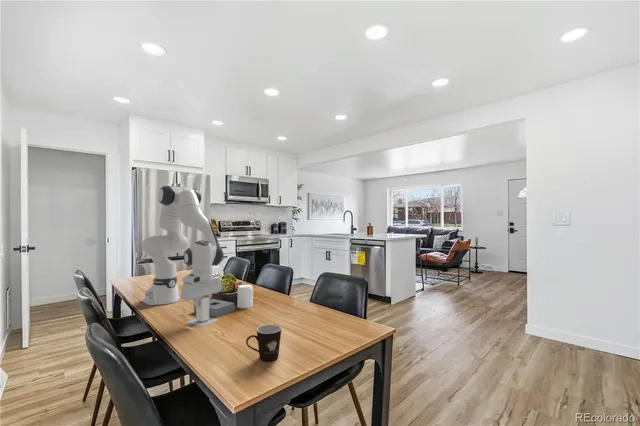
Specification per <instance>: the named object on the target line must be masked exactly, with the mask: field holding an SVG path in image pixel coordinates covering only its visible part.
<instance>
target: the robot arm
mask: <svg viewBox="0 0 640 426" xmlns="http://www.w3.org/2000/svg"><path fill="white" fill-rule="evenodd" d="M157 197H158V201H159V203H160V204H161V205H162V206H161V211H160V216H159V222H158V224H159V227H160V228H161V229H163V230H164V231H166V234H164V235H163V234H162V235H152V236H151V235H150V236H148V237H145V238H144V239H143V240H142V243H141V251H143V253H144V254H146V255H147V256H148V257H150V258H151V260H152V262H153V265H154V278H153V279H152V284H151V286H150V287H149V288H147V289H146V291H145V295H144V297H143V298H141V299H140V302H142V303H144V304H146V305H148V306H157V305H159V306H160V305H168V304H173V303H176V302H178V301H179V300H180V299H182V300H183V301H190V300H191V301H193V304H195V307H200V303H198V301H197V300H198V298H201V297H208V298H209V304H210V300H211V299H212V296H213V294H217V293H220V292H221V291H222V281H221V274H220V273H218V272H215V273H214V272H213V270H214V266H219V264H221V263H222V262H223V260H224V251H223V249H222V246H221V245H220V243H219V240H218V238H217V234H216V233H215V230H214V228H213V225H212V223H211V221H210V219H209V218H207V217H206V215H204V213H203V212H202V208H201V205H200V204H201V203H202V193H201V192H200V190H199V189H196V188H191V187H186V186H170V185H165V186H161V188H159V190H158V193H157ZM181 223H182V224H183V225H184V226H186V227H188V228H192V229H196V230H198V231H199V232H201V233H203V235H204V236H205V239H206V240H197V241H195V242H194V243H193V246H191V247H189V240H188V238H187V236H185V235H184V234H183V232H182V230H181V225H182V224H181ZM181 252H183V263H184V264H185V265H186V266H188V267H191V268H192V271H191V272H190V273H188V274H187V275H185V276H183V277H182V280H181V281H182V285H181V291H180V295H179V286H178V276H177V264H176V262H175V261H173V260H172V259H170V258H169V257H168V254H178V253H181Z"/></svg>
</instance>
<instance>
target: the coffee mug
mask: <svg viewBox="0 0 640 426" xmlns="http://www.w3.org/2000/svg"><path fill="white" fill-rule="evenodd" d="M281 335H282V326H280V325H277V324H264V325H260V326H258V327H257V328H256V335H255V334H251V335H249V336H248V337H247V338H246V340H245V344H246V346H247V347H248V348H250V349H251V350H253V351H255V352H257V353H258V354H259V355H258V356H259V360H260V361H261V362H264V363H273V362H275V361H276V360H278V359H279V353H280V347H281V346H280V344H281V337H282V336H281ZM251 338H255V339H256V341H257V345H258V347H257V348H258V349H257V348H254V347H253V346H250V344H249V343H248V342H249V340H250V339H251Z"/></svg>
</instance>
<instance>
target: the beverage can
mask: <svg viewBox="0 0 640 426" xmlns="http://www.w3.org/2000/svg"><path fill="white" fill-rule="evenodd" d="M253 305H254V287H253V285H252V284H239V285H238V287H237V308H239V309H250V308H252V307H253Z"/></svg>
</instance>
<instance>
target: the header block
mask: <svg viewBox="0 0 640 426" xmlns="http://www.w3.org/2000/svg"><path fill="white" fill-rule="evenodd" d="M193 312H194V313H195V314H196V307H195V303H193ZM232 312H235V302H231V301H226V300H221V299H216V298H215V299H214V298H211V299H210V304H209V317H211V318H219V317H222V316H224V315H227V314H230V313H232Z"/></svg>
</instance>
